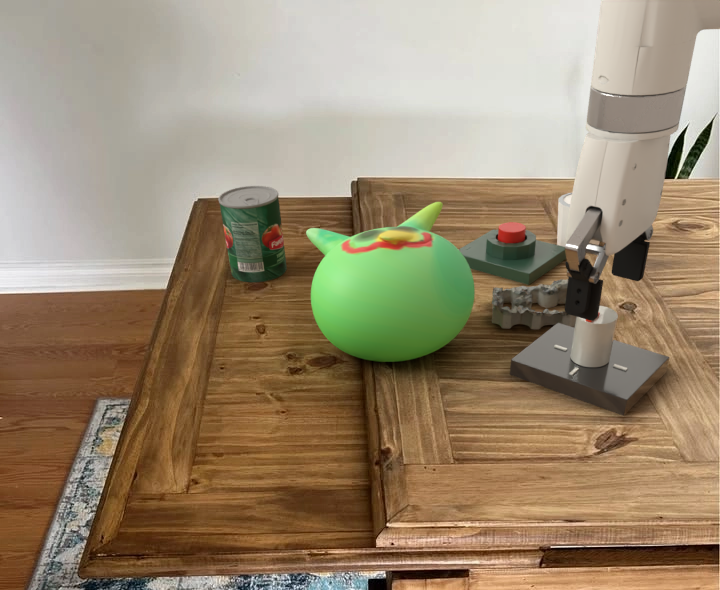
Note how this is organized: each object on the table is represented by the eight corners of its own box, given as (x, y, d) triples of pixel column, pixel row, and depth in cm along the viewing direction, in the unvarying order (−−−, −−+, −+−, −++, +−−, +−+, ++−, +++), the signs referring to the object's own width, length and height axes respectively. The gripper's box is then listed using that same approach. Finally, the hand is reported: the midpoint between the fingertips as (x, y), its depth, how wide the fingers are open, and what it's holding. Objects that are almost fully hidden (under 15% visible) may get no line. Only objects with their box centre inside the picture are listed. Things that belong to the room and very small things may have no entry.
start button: (529, 238, 99) (531, 225, 98) (515, 247, 97) (516, 234, 96) (506, 232, 101) (507, 220, 100) (492, 241, 99) (493, 228, 98)
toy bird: (325, 396, 78) (312, 265, 69) (309, 323, 91) (296, 204, 82) (488, 375, 80) (497, 244, 70) (449, 306, 93) (453, 187, 83)
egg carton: (579, 309, 90) (584, 277, 88) (579, 339, 85) (585, 306, 82) (492, 304, 92) (494, 273, 90) (487, 332, 87) (489, 301, 84)
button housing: (566, 262, 101) (569, 234, 98) (528, 289, 95) (531, 260, 93) (491, 243, 107) (493, 216, 104) (452, 267, 101) (453, 239, 99)
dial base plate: (664, 377, 78) (670, 355, 76) (622, 421, 72) (627, 398, 70) (555, 341, 85) (558, 321, 83) (508, 379, 79) (510, 358, 77)
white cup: (571, 262, 101) (579, 212, 96) (542, 245, 106) (548, 196, 101) (612, 252, 103) (621, 202, 98) (581, 236, 107) (589, 187, 103)
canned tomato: (227, 268, 105) (213, 190, 98) (280, 259, 107) (270, 181, 100) (237, 291, 99) (223, 209, 92) (293, 280, 101) (284, 200, 94)
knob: (581, 344, 79) (588, 299, 75) (616, 355, 77) (625, 309, 73) (563, 359, 77) (570, 313, 73) (598, 371, 75) (607, 325, 71)
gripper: (636, 80, 68) (609, 256, 79) (541, 130, 59) (525, 321, 70) (718, 88, 64) (677, 272, 75) (630, 144, 55) (598, 344, 66)
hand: (604, 296), depth 73 cm, fingers open, 9 cm apart
